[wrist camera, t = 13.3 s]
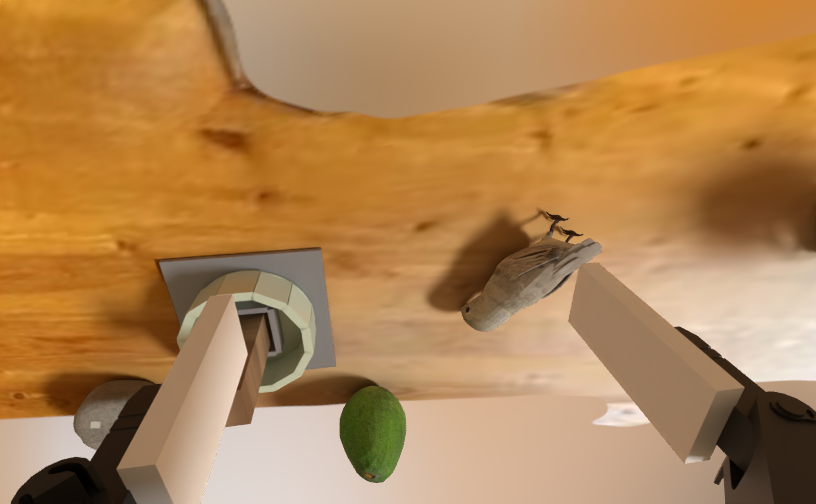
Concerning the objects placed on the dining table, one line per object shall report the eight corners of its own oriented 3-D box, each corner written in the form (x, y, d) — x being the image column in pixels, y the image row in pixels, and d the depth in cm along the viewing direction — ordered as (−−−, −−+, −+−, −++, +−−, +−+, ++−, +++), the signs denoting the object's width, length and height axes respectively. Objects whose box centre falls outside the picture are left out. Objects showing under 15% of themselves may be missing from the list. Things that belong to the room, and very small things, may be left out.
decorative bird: (446, 297, 48) (462, 336, 42) (550, 201, 44) (586, 227, 38) (475, 320, 50) (494, 361, 44) (576, 230, 47) (615, 260, 40)
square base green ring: (200, 377, 48) (185, 412, 44) (161, 259, 41) (138, 286, 36) (335, 363, 50) (334, 394, 46) (321, 247, 43) (318, 271, 38)
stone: (115, 440, 51) (60, 484, 41) (115, 368, 51) (61, 395, 41) (192, 434, 52) (157, 475, 42) (192, 365, 52) (157, 390, 43)
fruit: (371, 361, 51) (378, 444, 40) (412, 391, 54) (429, 475, 44) (327, 397, 53) (323, 485, 42) (370, 424, 56) (376, 512, 45)
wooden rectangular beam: (245, 339, 45) (214, 428, 35) (236, 309, 43) (202, 394, 33) (272, 336, 46) (250, 423, 35) (265, 306, 44) (240, 389, 33)
